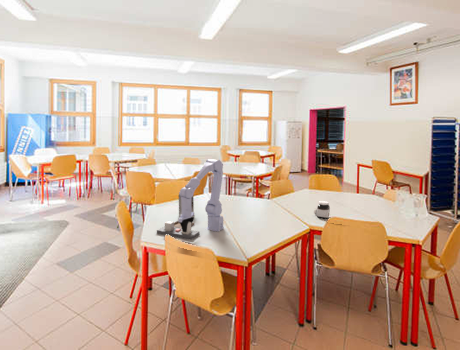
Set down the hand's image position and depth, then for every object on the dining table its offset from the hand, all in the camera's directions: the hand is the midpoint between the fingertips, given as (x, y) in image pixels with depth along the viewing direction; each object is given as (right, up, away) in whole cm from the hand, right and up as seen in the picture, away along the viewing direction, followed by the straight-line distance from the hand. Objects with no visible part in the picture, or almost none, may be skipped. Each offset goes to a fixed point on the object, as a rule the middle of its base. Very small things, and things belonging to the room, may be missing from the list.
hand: (186, 230), depth 175 cm
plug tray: (-6, -1, +17) cm, 18 cm away
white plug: (0, -2, 0) cm, 2 cm away
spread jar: (+92, +2, +43) cm, 101 cm away
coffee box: (-6, +3, +41) cm, 42 cm away
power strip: (-6, -3, +3) cm, 7 cm away
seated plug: (-11, -3, +5) cm, 13 cm away
